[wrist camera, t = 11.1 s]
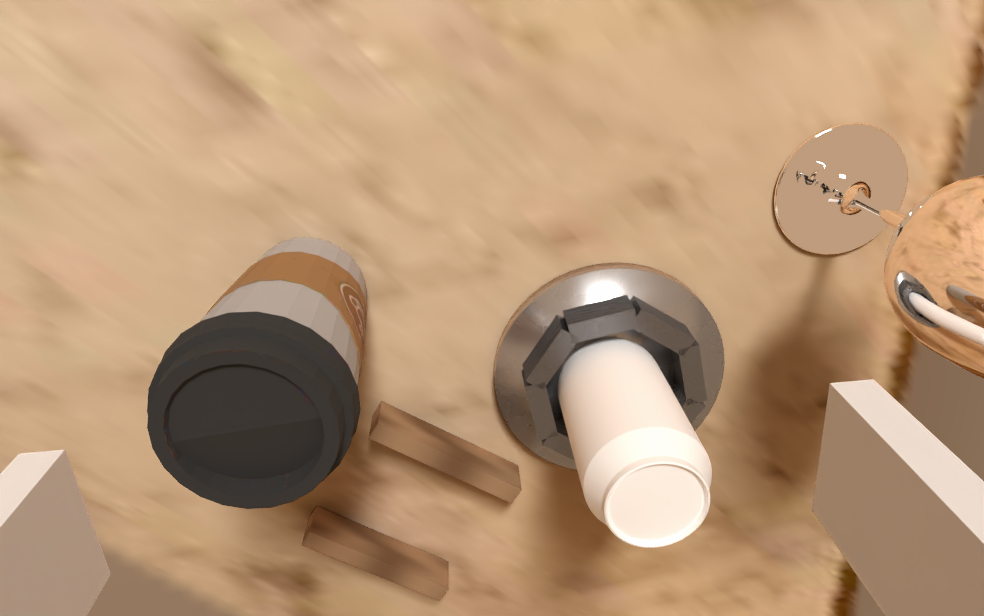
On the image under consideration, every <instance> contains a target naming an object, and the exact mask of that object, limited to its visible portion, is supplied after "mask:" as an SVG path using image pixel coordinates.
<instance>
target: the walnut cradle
mask: <svg viewBox="0 0 984 616" xmlns="http://www.w3.org/2000/svg"><path fill="white" fill-rule="evenodd" d="M369 439H371V440H373V441H376V442H378V443H380V444H382V445H384V446H387V447H389V448H391V449H393V450H395V451H398V452H400V453H402V454H404V455H406V456H409V457H411V458H413V459H415V460H417V461H420V462H422V463H424V464H426V465H428V466H430V467H433V468H435V469H437V470H439V471H441V472H444V473H446V474H448V475H450V476H452V477H455V478H457V479H459V480H461V481H463V482H466V483H468V484H470V485H472V486H474V487H477V488H479V489H481V490H483V491H485V492H488V493H490V494H492V495H494V496H496V497H499V498H501V499H503V500H505V501H507V502H510V503H512V502H513V501H514V499H515V498H516V497H517V495H518V494H519V493H520V491H521V490H522V489H521V482H520V475H519V468H518V465H516V464H514V463H512V462H509V461H507V460H505V459H503V458H501V457H499V456H497V455H495V454H492V453H490V452H488V451H486V450H484V449H482V448H480V447H478V446H476V445H473V444H471V443H469V442H467V441H465V440H463V439H461V438H459V437H456V436H454V435H452V434H450V433H448V432H446V431H444V430H442V429H440V428H437V427H435V426H433V425H431V424H429V423H427V422H425V421H423V420H420V419H418V418H416V417H414V416H412V415H410V414H408V413H406V412H404V411H401V410H399V409H397V408H395V407H393V406H391V405H389V404H387V403H384V402H382V401H381V403H380V405H379V406H378V408H377V410H376V411H375V413H374V414H373V417H372V422H371V428H370V434H369ZM302 545H303V546H305V547H308V548H310V549H313V550H315V551H318V552H320V553H323V554H325V555H328V556H330V557H332V558H335V559H337V560H340V561H342V562H345V563H347V564H350V565H352V566H355V567H357V568H360V569H362V570H365V571H367V572H370V573H372V574H375V575H377V576H379V577H382V578H384V579H387V580H389V581H392V582H394V583H397V584H399V585H402V586H404V587H407V588H409V589H412V590H414V591H417V592H419V593H422V594H424V595H427V596H429V597H431V598H434V599H436V600H439V601H440V599H441V598H442V597H443V595H444V594H445V593H446V591H447V590H448V561H446V560H444V559H441V558H439V557H437V556H434V555H432V554H429V553H427V552H425V551H422V550H420V549H418V548H415V547H413V546H410V545H408V544H406V543H403V542H401V541H399V540H396V539H394V538H391V537H389V536H387V535H384V534H382V533H380V532H377V531H375V530H372V529H370V528H368V527H365V526H363V525H361V524H358V523H356V522H353V521H351V520H349V519H346V518H344V517H342V516H339V515H337V514H334V513H332V512H330V511H327V510H325V509H323V508H320V507H318V506H316V508H315V510H314V511H313V513H312V514H311V516H310V518H309V520H308V524H307V527H306V531H305V535H304V539H303V543H302Z"/></svg>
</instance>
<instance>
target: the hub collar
mask: <svg viewBox="0 0 984 616" xmlns="http://www.w3.org/2000/svg"><path fill="white" fill-rule="evenodd" d="M607 338H620V339H625V340H629V341H632V342H634V343H637V344H638V345H640V346H642V347H643V348H644V349H646V350H647V351H648V352H649V353H650V354H651V356H652V357H653V358H654V360H655V361H656V363H657V364H658V366H659V368H660V370H661V371H662V373H663V375H664V377H665V378H666V380H667V382H668V384H669V386H670V387H671V389H672V391H673V393H674V395H675V396H676V398H677V400H678V402H679V404H680V405H681V407H682V409H683V411H684V413H685V415H686V416H687V418H688V420H689V422H690V424H691V425H692V427H693V429H694V431H695V430H696V429H697V428H698V427H699V426H700V425H701V423H702V422H703V420H704V419H705V418H706V416H707V415H708V414H709V412H710V410H711V408H712V406H713V404H714V403H715V400H716V398H717V395H718V393H719V390H720V387H721V383H722V379H723V372H724V349H723V344H722V339H721V335H720V333H719V330H718V327H717V325H716V323H715V321H714V319H713V317H712V316H711V314H710V312H709V311H708V310H707V308H706V307H705V306H704V305H703V303H702V302H701V301H700V300H699V298H698V297H697V296H696V295H695V294H694V293H693V292H692V291H691V290H690V289H689V288H688V287H687V286H685V285H684V284H683V283H681V282H680V281H678V280H677V279H675V278H674V277H672V276H670V275H668V274H666V273H664V272H662V271H659V270H656V269H653V268H650V267H646V266H641V265H636V264H628V263H605V264H597V265H592V266H586V267H583V268H580V269H576V270H573V271H570V272H568V273H566V274H564V275H561V276H559V277H557V278H555V279H553V280H552V281H550V282H548V283H547V284H545V285H543V286H542V287H541V288H539V289H538V290H537V291H536V292H534V293H533V294H532V295H531V296H529V298H528V299H527V300H526V301H525V302H524V303H523V304H522V305H521V306H520V307H519V308H518V309H517V311H516V312H515V313H514V315H513V316H512V317H511V319H510V320H509V322H508V324H507V326H506V327H505V329H504V331H503V333H502V336H501V338H500V341H499V343H498V347H497V351H496V355H495V363H494V383H495V391H496V396H497V401H498V405H499V408H500V411H501V413H502V416H503V418H504V420H505V421H506V423H507V425H508V427H509V428H510V430H511V431H512V432H513V434H514V435H515V436H516V438H517V439H518V440H519V441H521V442H522V443H523V444H524V445H525V446H526V447H527V448H528V449H530V450H531V451H532V452H534V453H535V454H536V455H538V456H540V457H542V458H543V459H545V460H547V461H549V462H552V463H554V464H557V465H559V466H562V467H566V468H570V469H573V470H577V467H576V463H575V460H574V456H573V452H572V448H571V444H570V441H569V437H568V433H567V429H566V425H565V421H564V418H563V414H562V410H561V406H560V402H559V397H558V379H559V375H560V372H561V370H562V368H563V366H564V364H565V363H566V361H567V360H568V359H569V357H570V356H571V355H572V354H573V353H575V352H576V351H577V350H578V349H580V348H581V347H583V346H585V345H586V344H589V343H591V342H594V341H597V340H601V339H607Z"/></svg>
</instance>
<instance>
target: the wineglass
mask: <svg viewBox="0 0 984 616" xmlns="http://www.w3.org/2000/svg"><path fill="white" fill-rule="evenodd" d="M907 183H908V167H907V163H906V158H905V155H904V153H903V151H902V149H901V147H900V145H899V144H898V143H897V142H896V141H895V139H894V138H893V137H892V136H891V135H889V134H888V133H886V132H885V131H884V130H882V129H880V128H878V127H875V126H872V125H870V124H863V123H844V124H840V125H836V126H832V127H829V128H827V129H825V130H823V131H820V132H818V133H816V134H815V135H813V136H812V137H810V138H809V139H808V140H806V141H805V142H804V143H803V144H802V145H801V146H799V147H798V148H797V149H796V150H795V151H794V152H793V154H792V155H791V157H790V158H789V159H788V161H787V162H786V163H785V165H784V167H783V169H782V171H781V173H780V175H779V178H778V181H777V184H776V188H775V195H774V209H775V216H776V219H777V222H778V225H779V227H780V228H781V230H782V232H783V233H784V235H785V236H786V237H787V238H788V239H789V240H790V241H791V242H792V243H793V244H795V245H796V246H798V247H799V248H801V249H803V250H806V251H809V252H812V253H816V254H824V255H828V254H840V253H844V252H848V251H851V250H854V249H856V248H858V247H860V246H863V245H864V244H866V243H868V242H869V241H871V240H872V239H874V238H875V237H876V236H877V235H879V234H880V233H881V232H882V231H883V230H884V229H885V228H886V227H887V226H888V225H890V226H892V227H894V228H896V231H895V232H894V234H893V236H892V238H891V241H890V244H889V246H888V250H887V255H886V261H885V266H884V285H885V289H886V293H887V297H888V299H889V302H890V304H891V306H892V308H893V310H894V312H895V314H896V316H897V317H898V319H899V321H900V322H901V323H902V324H903V326H904V327H905V328H906V329H907V330H908V331H909V332H910V333H911V334H912V335H913V336H914V337H915V338H917V339H918V340H919V341H920V342H921V343H922V344H923V345H925V346H926V347H928V348H930V349H931V350H933V351H934V352H936V353H937V354H939V355H941V356H942V357H944V358H946V359H947V360H949V361H950V362H952V363H954V364H956V365H957V366H959V367H961V368H962V369H964V370H966V371H969V372H970V373H972V374H974V375H977V376H979V377H981V378H983V379H984V175H980V176H975V177H970V178H966V179H962V180H959V181H957V182H954V183H952V184H950V185H948V186H945V187H943V188H941V189H940V190H938V191H937V192H935V193H933V194H932V195H930V196H929V197H927V198H926V199H924V200H922V201H921V202H920V203H919V204H918V205H916V206H915V207H914V208H913V209H912V210H911V211H910V212H909V213H908V214H907V215H906V216H904V215H902V214H900V213H898V210H899V208H900V207H901V204H902V202H903V199H904V197H905V194H906V189H907Z"/></svg>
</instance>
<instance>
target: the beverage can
mask: <svg viewBox="0 0 984 616" xmlns="http://www.w3.org/2000/svg"><path fill="white" fill-rule="evenodd" d="M558 397H559V402H560V406H561V410H562V414H563V418H564V421H565V425H566V429H567V433H568V437H569V441H570V444H571V448H572V452H573V456H574V460H575V463H576V467H577V471H578V475H579V479H580V482H581V486H582V490H583V494H584V497H585V500H586V503H587V505H588V507H589V509H590V510H591V512H592V513H593V514H594V515H595V516H596V517H597V518H598V519H599V520H600V521H601V522H603V523H604V524H605V525H607V526H608V527H609V529H610V530H611V531H612V533H613V534H614V535H615V536H616V537H618V538H619V539H620V540H622V541H624V542H626V543H628V544H630V545H633V546H637V547H644V548H656V547H663V546H667V545H671V544H674V543H676V542H678V541H680V540H682V539H684V538H686V537H687V536H689V535H690V534H691V533H693V532H694V531H695V530H696V529H697V528H698V527H699V526H700V525H701V523H702V522H703V520H704V519H705V517H706V515H707V513H708V510H709V506H710V492H709V488H710V485H711V479H712V468H711V463H710V460H709V457H708V455H707V453H706V451H705V449H704V447H703V445H702V444H701V442H700V440H699V438H698V436H697V434H696V433H695V431H694V429H693V427H692V425H691V424H690V422H689V420H688V418H687V416H686V415H685V413H684V411H683V409H682V407H681V405H680V404H679V402H678V400H677V398H676V396H675V395H674V393H673V391H672V389H671V387H670V386H669V384H668V382H667V380H666V378H665V377H664V375H663V373H662V371H661V370H660V368H659V366H658V364H657V363H656V361H655V360H654V358H653V357H652V356H651V354H650V353H649V352H648V351H647V350H646V349H644V348H643V347H642V346H640V345H638V344H637V343H634V342H632V341H629V340H625V339H620V338H607V339H601V340H597V341H594V342H591V343H589V344H586V345H585V346H583V347H581V348H580V349H578V350H577V351H576V352H575V353H573V354H572V355H571V356H570V357H569V359H568V360H567V361H566V363H565V364H564V366H563V368H562V370H561V372H560V375H559V379H558Z"/></svg>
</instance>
